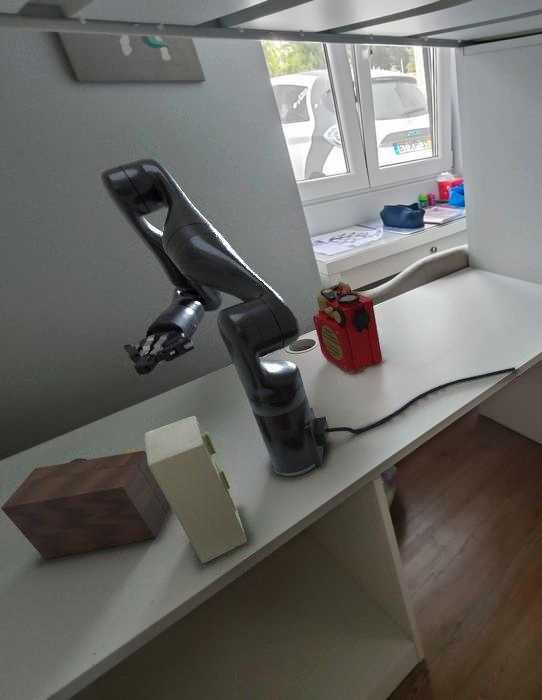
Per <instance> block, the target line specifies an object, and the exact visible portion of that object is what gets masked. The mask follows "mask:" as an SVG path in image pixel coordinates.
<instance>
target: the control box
mask: <svg viewBox="0 0 542 700" xmlns="http://www.w3.org/2000/svg"><path fill="white" fill-rule="evenodd" d="M170 508H171V506H170V504H169V502H168V501H167V499H166V497H165V495H164V493H163V492H162V490H161V488H160V486H159V484H158V483H157V481H156V479H155V477H154V476H153V474H152V472H151V470H150V468H149V466H148V462H147V454H146V449H145V450H139V451H138V452H131V453H125V454H122V453H119V454H113V455H108V456H107V455H106V456H100V457H96V458H95V457H94V458H89V459H87V458H74V459H71V460H70V461H69V462H66V463H59V464H58V463H57V464H53V465H47V466H40V467H35V468H34V469H33V470H32V471H31V472H30V473H29V475H28V476H27V477H26V478H25V479H24V480H23V481H22V483H21V484H20V485H19V486H18V487H17V488H16V490H15V491H13V493H12V495H10V497H9V498H8V499H7V500H6V501H5V503H4V504H3V505H2V506H1V507H0V509H1V510H2V512H3V513H4V514H5V515H6V517H8V519H9V520H10V521H11V522H12V523H13V524H14V525H15V527H16V528H17V529H18V530H19V531H20V533H21V534H22V535H23V536H24V537H25V538H26V540H27V541H28V542H29V543H30V544H31V545H32V546H33V548H34V549H35V550H36V551H37V552H38V553H39V555H40V556H41V557H42V558H43V559H44V560H51V559H55V558H56V559H57V558H61V557H67V556H70V555H76V554H82V553H86V552H87V553H88V552H92V551H97V550H103V549H107V548H108V549H109V548H113V547H118V546H124V545H128V544H129V545H130V544H133V543H139V542H143V541H148V540H154V539H156V538H157V536H158V534H159V532H160V529H161V527H162V525H163V523H164V520H165V518H166V516H167V514H168V512H169V509H170Z"/></svg>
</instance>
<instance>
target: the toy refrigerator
mask: <svg viewBox="0 0 542 700" xmlns="http://www.w3.org/2000/svg"><path fill="white" fill-rule="evenodd" d="M143 440H144V446H145V452H146V454H147V462H148V466H149V468H150V470H151V472H152V474H153V476H154V477H155V479H156V481H157V483H158V484H159V486H160V488H161V490H162V492H163V493H164V495H165V497H166V499H167V501H168V502H169V504H170V508H171V510H172V511H173V513H174V515H175V517H176V519H177V520H178V522H179V524H180V526H181V527H182V529H183V531H184V533H185V535H186V537H187V539H188V541H189V542H190V543H191V544H190V545H191V546H192V548H193V550H194V551H195V553H196V555H197V556H198V558H199V560H200V562H201V563H202V564H206V563H208V562H210V561H212V560H214V559H216V558H218V557H220V556H222V555H224V554H226V553H228V552H230V551H232V550H234V549H236V548H238V547H240V546H242V545H243V544H246V543H247V542H248V539H247V535H246V533H245V529H244V526H243V523H242V520H241V518H240V517H241V516H240V514H239V511H238V509H237V506H236V504H235V501H234V499H233V498H232V496H231V493H230V491H229V489H231V486H230V484H229V481H228V479H227V477H226V474H225V471H224V469H223V468H219V465H218V464H217V462H216V460H215V456H214V455H215V454H216V453H217V450H216V448H215V446H214V443H213V442H212V439H211V437H210V435H209V432H208V431H204V432H203V430H202V427H201V425H200V423H199V421H198V419H197V417H196V416H195V415H191V416H189V417H185V418H183V419H180V420H177V421H174V422H172V423H169V424H166V425H163V426H161V427H157V428H155V429H152V430H150V431H147V432H145V433H144V435H143Z"/></svg>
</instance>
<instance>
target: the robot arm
mask: <svg viewBox="0 0 542 700" xmlns="http://www.w3.org/2000/svg"><path fill="white" fill-rule="evenodd" d="M173 177H174V176H172V175H171V173H170V172H169V170H167V168H166V167H165V166H163V164H161V163H160V162H159V161H157V160H156V159H153V158H141V159H137V160H133V161H130V162H127V163H123V164H120V165H117V166H116V165H115V166H113V167H110V168H107V169H104V170H103V171H101V172H100V181H101V185H102V186H103V188H104V190H105V192H106V194H107V196H108V198H109V199H110V200H111V202H112V203H113V205H114V206H115V208H116V210H118V211H119V213H120V214H121V216H122V217H123V218H124V219H125V221H126V222H127V224H128V225H129V226H130V228H131V229H132V230H133V232H134V233H135V234H136V235H137V237H138V238H139V239H140V240H141V242H142V243H143V244H144V245H145V247H147V249H148V250H149V251H150V252H151V254H152V255H153V256H154V258H155V259H156V261H157V262H158V264H159V266H160V268H161V269H162V270H163V272H164V274H165V276H166V277H167V279H168V281H169V282H170V284H171V285H173V286H174V288H173V290H172V296H171V297H172V298H171V303H170V304H169V306H168V307H167V308H166V309H164V310H163V311H162V312H160V314H159V315H158V316H157V317H156V318H155V320H154V321H153V322H152V323H151V324H150V325H149V326H148V328H147V330H146V333H145V337H144V338H142V339H140V341H139V342H138V344H136V345H135V344H133V345H132V344H125V345H123V349H124V351H125V353H126V355H127V357H128V358H129V360H131V361H132V362H133V363H134V365H133V367H134V370H135V371H136V373H137V374H138V375H139V376H143V375H149V374H150V373H151V372H152V371H154V370H155V368H156V367H157V366H158V365H160V364H162V363H163V361H165V362H166V363H169V362H172V361H173V360H175V359H177V358H179V357H181V356H184V355H185V354H187V353H188V352H190V351H193V350H194V349H195V346H194V343H193V340H192V338H193V336H194V335H195V333H196V331H197V329H198V327H199V325H200V323H202V321H203V319H204V317H205V314H206V313H208V312H209V313H210V312H215V311H217V310H220V308H221V307H222V304H223V294H226V295H229V296H232V297H234V298H237V299H239V300H240V301H242V302H240V303H237V304H233V305H230V306H228V307H225V308H223V309H221V310H220V311H219V312H218V313H217V316H216V323H217V328H218V331H219V335H220V337H221V340H222V341H223V343H224V346H225V348H226V350H227V352H228V354H229V357H230V359H231V361H232V363H233V365H234V368H235V371H236V373H237V375H238V379H239V381H240V383H241V385H242V387H243V389H244V392H245V395H246V398H247V400H248V403H249V406H250V409H251V411H252V414H253V417H254V420H255V422H256V424H257V427H258V430H259V433H260V435H261V437H262V441H263V443H264V446H265V448H266V451H267V454H268V457H269V460H270V463H271V466H272V468H273V471H274V473H276V474H278V475H280V476H283V477H296V476H300V475H304V474H306V473H308V472H310V471H311V470H313V469H314V468H316V467H321V466H322V464H323V457H324V446H328V441H329V433H336V432H348V433H351V434H361V433H364V432H367V431H369V430H371V429H374V428H377V427H378V426H380V425H382V424H384V423H386V422H387V421H389V420H391V419H393V418H394V417H396V416H398V415H399V414H401V413H403V411H405V410H406V409H407V408H408V407H410V406H411V405H412V404H414V403H416V402H417V401H419V400H420V399H422V398H425V397H426V396H428V395H430V394H432V393H434V392H436V391H439V390H441V389H444V388H447V387H450V386H453V385H456V384H460V383H464V382H469V381H474V380H479V379H483V378H487V377H492V376H496V375H500V374H505V373H510V372H514V371H516V367H510V368H506V369H500V370H495V371H492V372H491V371H490V372H486V373H483V374H478V375H473V376H468V377H464V378H459V379H456V380H452V381H448V382H446V383H444V384H440V385H438V386H435V387H433V388H430V389H429V390H426V391H425V392H422V393H420V394H418V395H417V396H415V397H413V398H411V400H409V401H408V402H407V403H405V404H403V406H401V407H400V408H398V409H397V410H395V411H394V412H392V413H390V414H388V415H387V416H385V417H384V418H381V419H380V420H378V421H375V422H374V423H371V424H370V425H367V426H365V427H361V428H356V429H355V428H352V427H350V426H339V427H338V426H337V427H329V424H328V419H327V416H326V415H325V416H319V417H317V415H316V411H315V409H314V407H311V406H310V403H309V399H308V396H307V393H306V388H305V385H304V381H303V377H302V374H301V371H300V369H299V367H298V365H296V364H295V363H294V362H292V361H289V360H284V359H283V360H282V359H278V360H277V359H274V360H273V359H272V360H261V359H262V358H264V357H268V356H269V355H271V354H274V353H277V352H279V351H281V350H284V349H286V348H288V347H290V346H291V345H293V344H295V343H296V342H297V341H298V340H299V338H300V336H301V327H300V326H301V325H300V324H299V323H300V322H299V320H298V319H297V317H296V314H295V313H294V311H293V310H292V308H291V307H290V305H289V304H288V303H287V302H286V300H285V299H283V298H282V297H281V295H279V294H278V293H277V292H276V291H275V290H274V289H273V288H272V287H271V286H269V284H267V283H266V282H265V281H264V280H263V279H262V278H261V277H260V276H259V275H258V274H256V273H255V272H254V271H253V270H252V268H250V267H249V266H248V265H247V264H246V263H245V261H244V260H243V259H242V258H241V257H240V256H239V254H238V253H237V252H236V251H235V250H234V248H232V246H231V245H230V244H229V242H228V241H227V240H226V239H225V238H224V236H222V234H221V233H220V232H219V231H218V230H217V229H216V227H214V226H213V224H211V223H210V222H209V220H208V219H206V217H204V215H203V214H202V213H201V212H200V211H199V209H198V208H197V207H195V205H194V204H193V203H192V202H191V200H190V199H189V198H188V196H187V194H186V193H185V192H184V190H182V188H181V187H180V185H179V184H178V183H177V181H176V180H175V178H173ZM165 209H167V214H166V217H165V220H164V224H163V228H162V230H160V229H159V228H157V227H155V226H154V225H152V224H151V223H150V222H149V221H148V220H147V219H146V218H145V216H148V215H151V214H154V213H157V212H160V211H163V210H165ZM222 293H223V294H222Z"/></svg>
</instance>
